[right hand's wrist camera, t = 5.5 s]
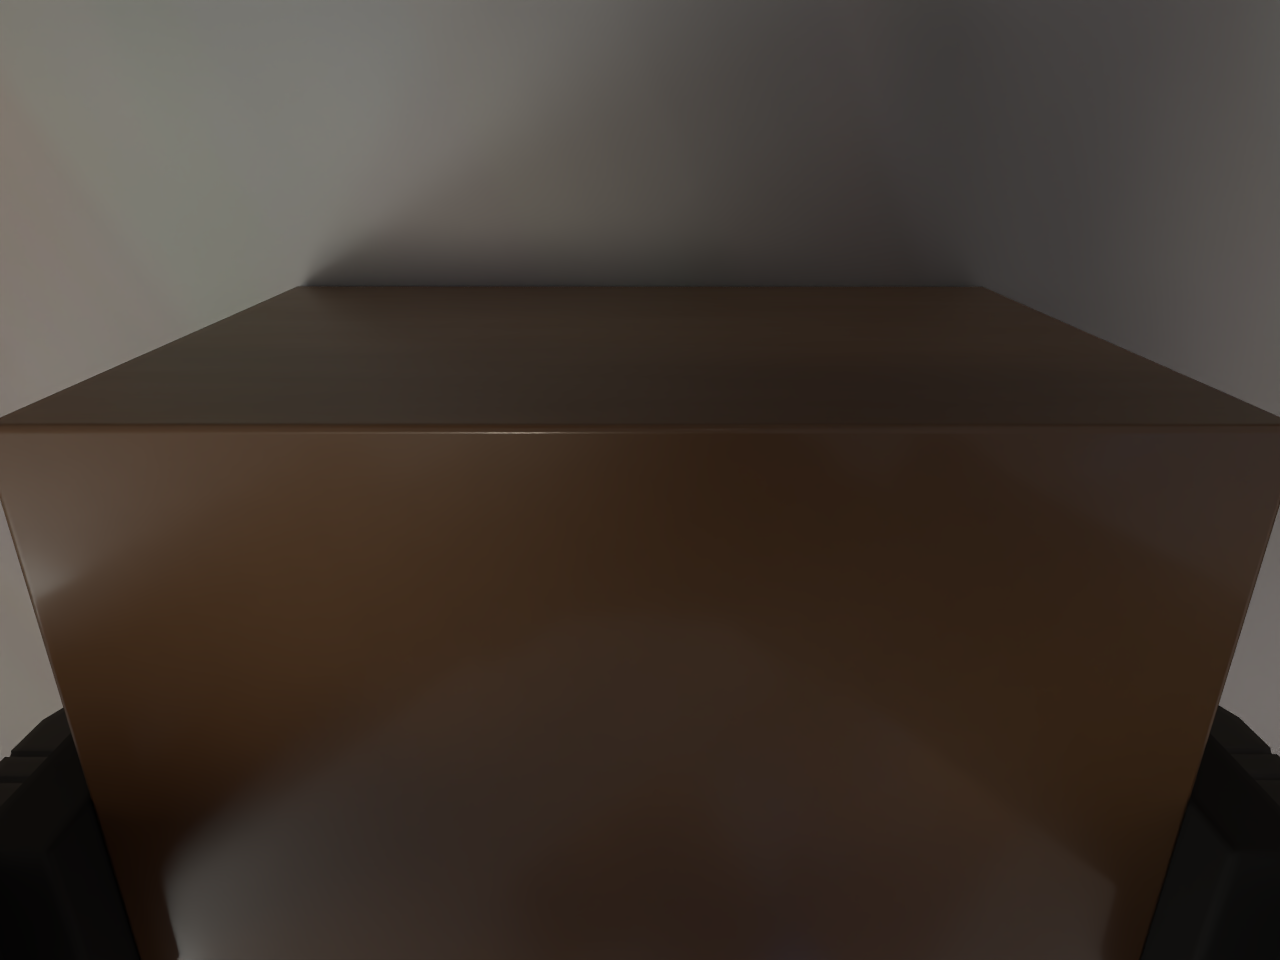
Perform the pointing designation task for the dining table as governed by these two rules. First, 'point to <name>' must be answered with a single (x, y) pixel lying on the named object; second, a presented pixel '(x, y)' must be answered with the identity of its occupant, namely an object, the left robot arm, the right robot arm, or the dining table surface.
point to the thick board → (640, 622)
